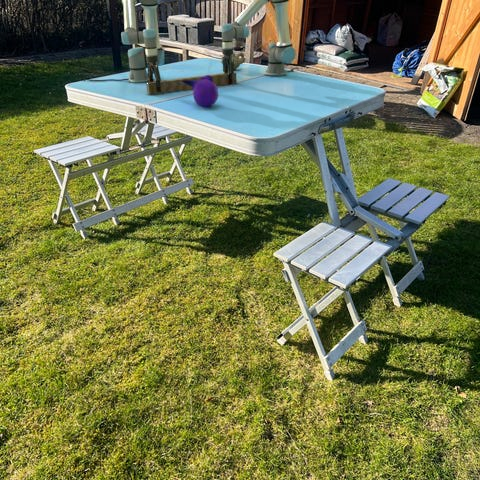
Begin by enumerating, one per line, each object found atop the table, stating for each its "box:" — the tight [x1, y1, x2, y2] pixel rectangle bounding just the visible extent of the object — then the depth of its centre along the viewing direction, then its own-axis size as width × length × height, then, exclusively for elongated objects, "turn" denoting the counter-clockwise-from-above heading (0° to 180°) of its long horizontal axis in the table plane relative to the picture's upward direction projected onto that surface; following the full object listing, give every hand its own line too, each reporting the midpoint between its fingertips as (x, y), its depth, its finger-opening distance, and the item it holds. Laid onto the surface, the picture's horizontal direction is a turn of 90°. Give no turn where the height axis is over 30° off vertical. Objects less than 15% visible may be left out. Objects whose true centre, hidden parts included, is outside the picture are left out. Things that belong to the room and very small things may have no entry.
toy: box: [182, 74, 219, 108], centre depth 268 cm, size 16×18×27 cm
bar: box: [145, 71, 238, 96], centre depth 311 cm, size 66×5×8 cm, turn 119°
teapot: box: [221, 51, 245, 71], centre depth 369 cm, size 21×12×15 cm, turn 120°
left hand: (155, 90), depth 301 cm, fingers open, 12 cm apart
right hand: (228, 83), depth 324 cm, fingers closed on bar, 5 cm apart
